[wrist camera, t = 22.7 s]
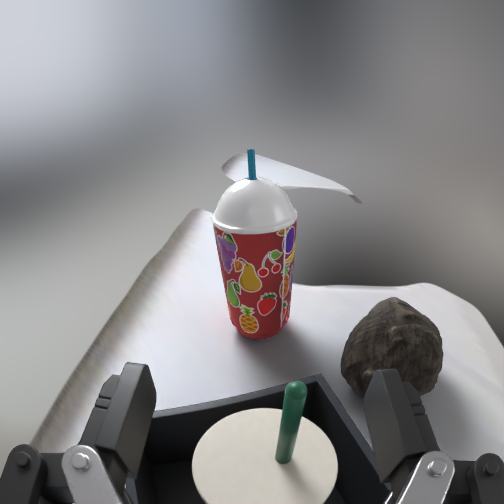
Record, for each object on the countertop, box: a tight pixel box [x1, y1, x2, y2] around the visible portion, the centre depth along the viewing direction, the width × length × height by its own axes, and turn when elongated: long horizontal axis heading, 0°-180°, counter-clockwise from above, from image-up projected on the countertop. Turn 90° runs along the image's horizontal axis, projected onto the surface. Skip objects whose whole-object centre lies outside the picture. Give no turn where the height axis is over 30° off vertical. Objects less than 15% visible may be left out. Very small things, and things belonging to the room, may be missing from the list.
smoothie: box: [211, 149, 297, 339], centre depth 33 cm, size 8×8×20 cm
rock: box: [341, 297, 443, 398], centre depth 27 cm, size 10×11×10 cm
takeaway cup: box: [192, 381, 338, 504], centre depth 13 cm, size 6×6×17 cm
